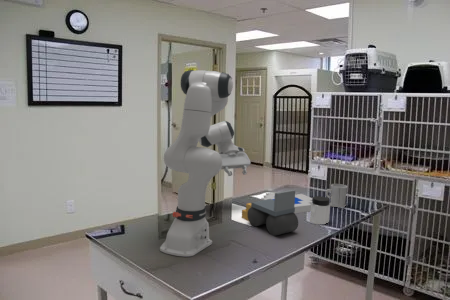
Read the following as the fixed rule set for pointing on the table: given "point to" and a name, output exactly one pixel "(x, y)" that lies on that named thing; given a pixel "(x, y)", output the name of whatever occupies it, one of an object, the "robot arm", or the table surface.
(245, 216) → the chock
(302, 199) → the stepped white slab
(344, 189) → the cup
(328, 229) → the table surface
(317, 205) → the jar
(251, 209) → the trolley
